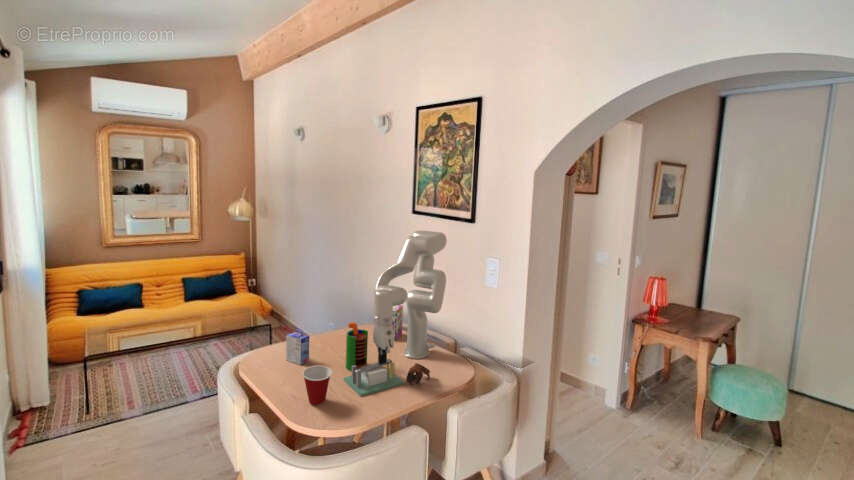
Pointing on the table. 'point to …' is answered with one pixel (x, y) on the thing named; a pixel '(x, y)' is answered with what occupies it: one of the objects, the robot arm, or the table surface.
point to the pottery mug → (417, 374)
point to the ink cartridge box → (297, 347)
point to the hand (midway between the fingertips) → (382, 362)
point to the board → (375, 387)
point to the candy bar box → (397, 321)
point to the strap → (373, 366)
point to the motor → (356, 347)
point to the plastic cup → (317, 383)
